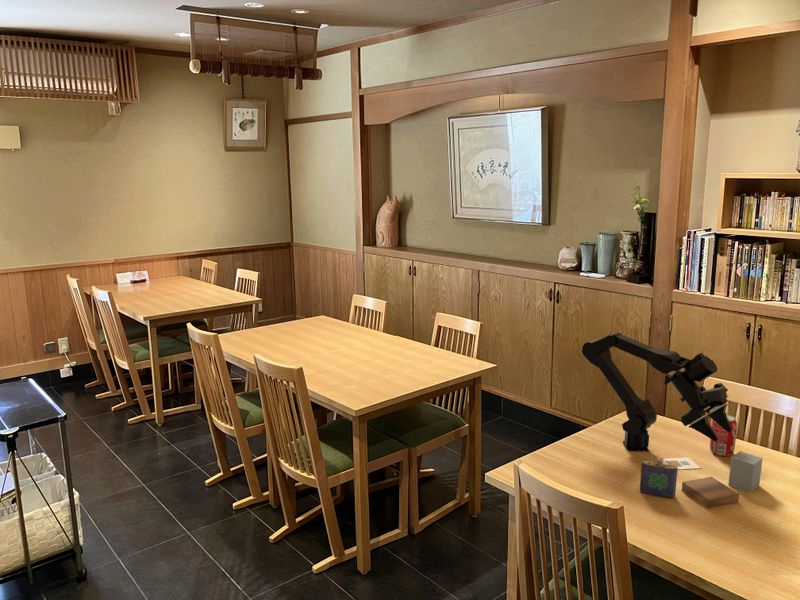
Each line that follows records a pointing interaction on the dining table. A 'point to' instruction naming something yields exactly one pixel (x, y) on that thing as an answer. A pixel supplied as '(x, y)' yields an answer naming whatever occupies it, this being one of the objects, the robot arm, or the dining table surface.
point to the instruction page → (681, 463)
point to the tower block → (745, 471)
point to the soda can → (724, 438)
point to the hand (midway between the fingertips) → (723, 435)
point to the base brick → (710, 492)
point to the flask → (658, 479)
